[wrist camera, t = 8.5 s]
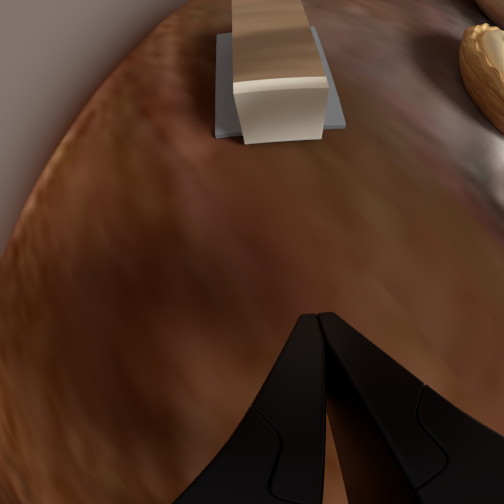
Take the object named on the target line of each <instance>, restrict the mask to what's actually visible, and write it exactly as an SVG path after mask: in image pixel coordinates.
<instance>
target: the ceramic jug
mask: <svg viewBox="0 0 504 504" xmlns="http://www.w3.org/2000/svg"><path fill="white" fill-rule="evenodd" d="M475 2H476V3H477V5H478V6H479V7H480V9H481V10H482V11H483V12H484V14H485V15H486V16H487V17H488V18H489V19H490V20H491V21H492V22H493V23H494V24H495V25H496V26H497V27H499V28H500V29H501V30H503V31H504V0H475Z"/></svg>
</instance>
